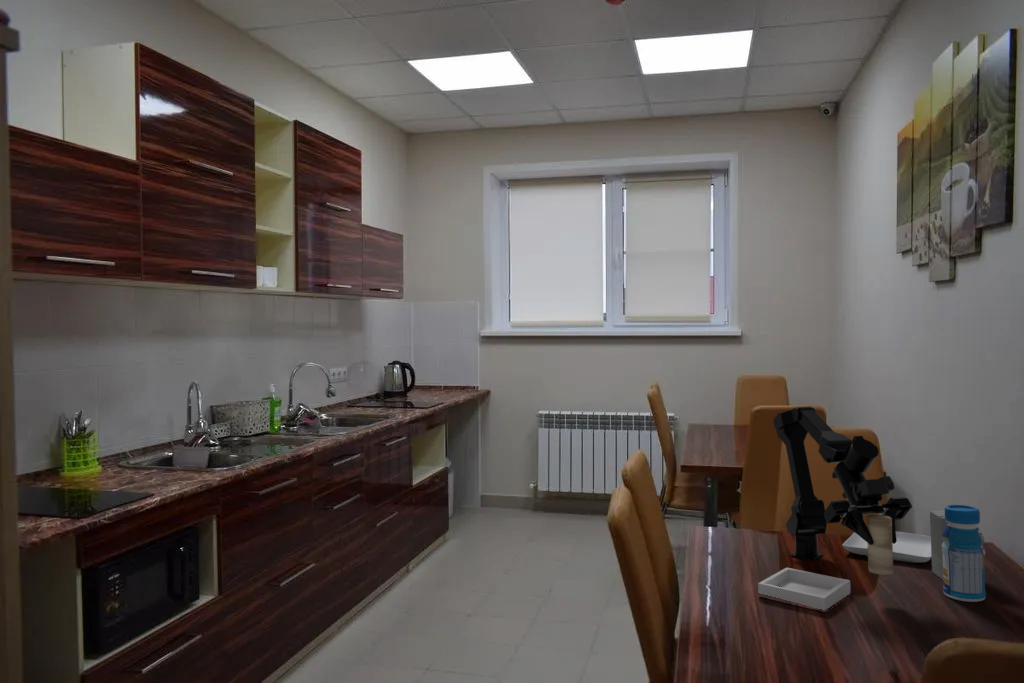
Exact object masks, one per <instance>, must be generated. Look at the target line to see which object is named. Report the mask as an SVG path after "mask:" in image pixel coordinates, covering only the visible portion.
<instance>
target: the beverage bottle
mask: <svg viewBox="0 0 1024 683" xmlns="http://www.w3.org/2000/svg"><path fill="white" fill-rule="evenodd" d="M944 511H945V520H946V522H948V524H947V525H946V527H945V528H944V530H943V532H942V539H943V543H942V545H941V550H942V553H943V577H944V580H943V586H942V589H943V590H942V591H943V594H944V595H945V596H947V597H948V598H951V599H952V600H955V601H956V600H957V601H961V602H967V603H968V602H969V603H978V602H982V601H984V600H985V599H986V598H987V595H986V582H985V581H986V580H985V576H986V575H985V557H986V549H985V547H984V543H985V538H984V534H983V533H982V531H981V530H980V528H979V527H978V525H980V521H981V514H980V513H981V512H980V509H979V508H978V507H976V506H972V505H965V504H949V505H946V506H945V507H944ZM976 525H977V526H976Z"/></svg>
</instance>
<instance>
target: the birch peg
mask: <svg viewBox="0 0 1024 683" xmlns="http://www.w3.org/2000/svg"><path fill="white" fill-rule="evenodd" d="M866 526H867V528H868V530H869V532H870V534H871V536H872V539H873V542H874V543H873V545H870V544H868V556H867V565H868V566H867V568H868V569H867V570H868V572H869V573H872V574H876V575H881V576H884V575H886V576H887V575H888V576H889V575H893V574H894V560H893V544H892V518H891V517H888V516H883V515H879V514H868V515H867V516H866Z"/></svg>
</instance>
